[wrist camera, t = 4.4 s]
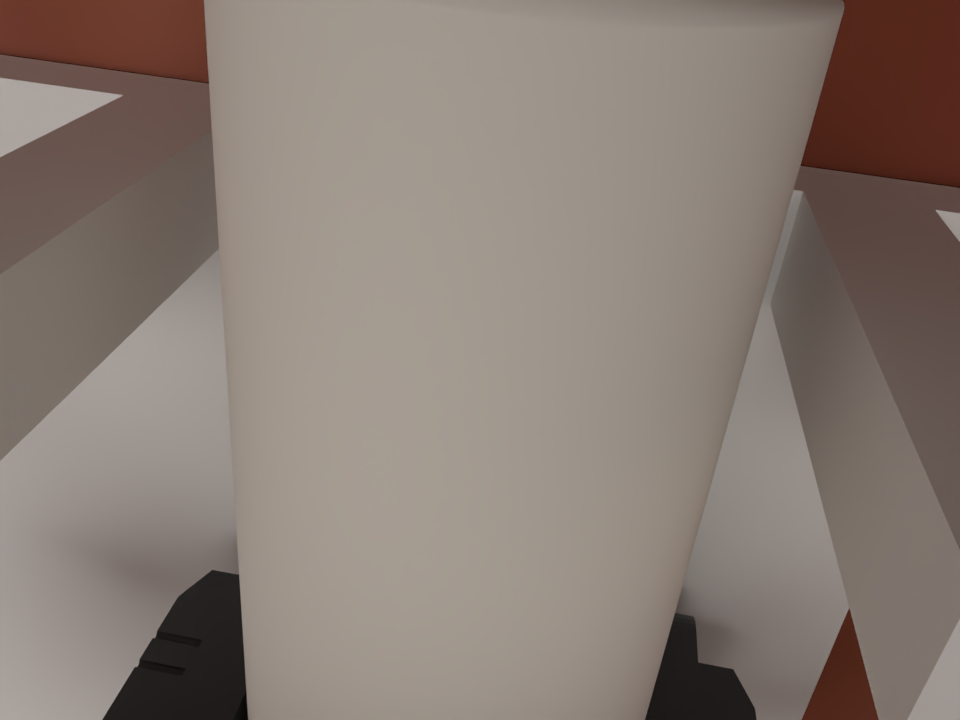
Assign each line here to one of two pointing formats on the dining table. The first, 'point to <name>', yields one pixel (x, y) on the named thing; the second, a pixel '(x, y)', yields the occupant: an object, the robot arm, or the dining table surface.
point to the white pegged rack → (207, 440)
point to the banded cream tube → (489, 331)
